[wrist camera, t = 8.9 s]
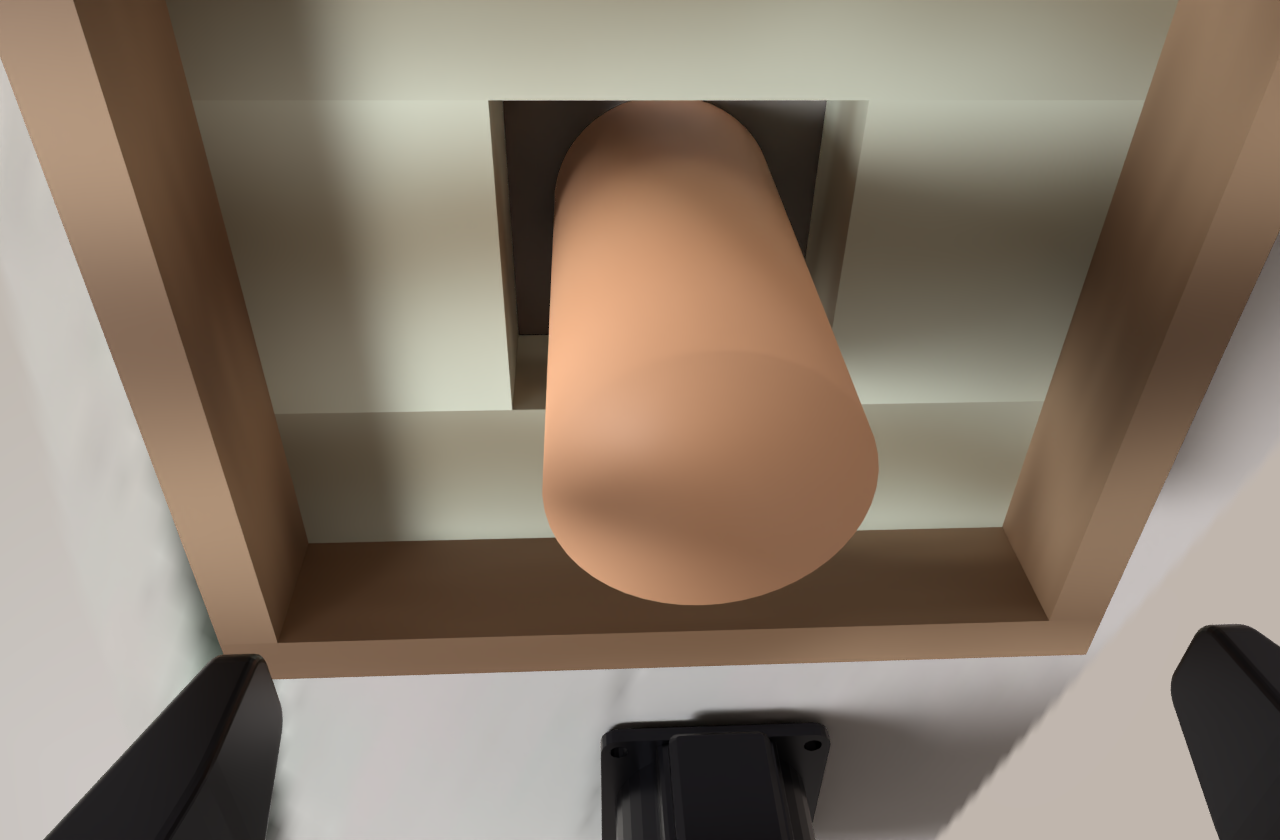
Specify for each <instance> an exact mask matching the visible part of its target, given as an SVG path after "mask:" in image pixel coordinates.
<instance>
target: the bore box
mask: <svg viewBox="0 0 1280 840" xmlns="http://www.w3.org/2000/svg"><path fill="white" fill-rule="evenodd" d="M0 57H1V60H2V63H3V65H4V68H5V71H6V73H7V76H8V79H9V81H10V84H11V87H12V89H13V92H14V95H15V97H16V100H17V103H18V106H19V108H20V111H21V114H22V116H23V119H24V122H25V124H26V127H27V130H28V132H29V135H30V138H31V140H32V143H33V146H34V148H35V151H36V154H37V156H38V159H39V162H40V164H41V167H42V170H43V172H44V175H45V178H46V180H47V183H48V186H49V188H50V191H51V194H52V196H53V199H54V202H55V204H56V207H57V210H58V213H59V215H60V218H61V221H62V223H63V226H64V229H65V231H66V234H67V237H68V239H69V242H70V245H71V247H72V250H73V253H74V255H75V258H76V261H77V263H78V266H79V269H80V271H81V274H82V277H83V279H84V282H85V285H86V287H87V290H88V293H89V295H90V298H91V301H92V303H93V306H94V309H95V311H96V314H97V317H98V320H99V322H100V325H101V328H102V330H103V333H104V336H105V338H106V341H107V344H108V346H109V349H110V352H111V354H112V357H113V360H114V362H115V365H116V368H117V370H118V373H119V376H120V378H121V381H122V384H123V386H124V389H125V392H126V394H127V397H128V400H129V402H130V405H131V408H132V410H133V413H134V416H135V419H136V421H137V424H138V427H139V429H140V432H141V435H142V437H143V440H144V443H145V445H146V448H147V451H148V453H149V456H150V459H151V461H152V464H153V467H154V469H155V472H156V475H157V477H158V480H159V483H160V485H161V488H162V491H163V493H164V496H165V499H166V501H167V504H168V507H169V509H170V512H171V515H172V517H173V520H174V523H175V526H176V528H177V531H178V534H179V536H180V539H181V542H182V544H183V547H184V550H185V552H186V555H187V558H188V560H189V563H190V566H191V568H192V571H193V574H194V576H195V579H196V582H197V584H198V587H199V590H200V592H201V595H202V598H203V600H204V603H205V606H206V608H207V611H208V614H209V616H210V619H211V622H212V624H213V627H214V630H215V633H216V635H217V638H218V641H219V643H220V646H221V649H222V651H223V654H259V655H261V656H262V657H263V658H264V659H265V661H266V663H267V666H268V669H269V672H270V675H271V678H272V679H299V678H331V677H364V676H397V675H430V674H462V673H495V672H528V671H560V670H593V669H626V668H658V667H691V666H724V665H757V664H789V663H822V662H855V661H887V660H920V659H953V658H985V657H1018V656H1051V655H1084V654H1086V653H1087V651H1088V649H1089V647H1090V644H1091V642H1092V640H1093V638H1094V636H1095V633H1096V631H1097V629H1098V627H1099V625H1100V622H1101V620H1102V618H1103V616H1104V614H1105V612H1106V609H1107V607H1108V605H1109V603H1110V601H1111V598H1112V596H1113V594H1114V592H1115V590H1116V587H1117V585H1118V583H1119V581H1120V579H1121V577H1122V574H1123V572H1124V570H1125V568H1126V566H1127V563H1128V561H1129V559H1130V557H1131V555H1132V552H1133V550H1134V548H1135V546H1136V544H1137V542H1138V539H1139V537H1140V535H1141V533H1142V531H1143V528H1144V526H1145V524H1146V522H1147V520H1148V517H1149V515H1150V513H1151V511H1152V509H1153V507H1154V504H1155V502H1156V500H1157V498H1158V496H1159V493H1160V491H1161V489H1162V487H1163V485H1164V482H1165V480H1166V478H1167V476H1168V474H1169V472H1170V469H1171V467H1172V465H1173V463H1174V461H1175V458H1176V456H1177V454H1178V452H1179V450H1180V447H1181V445H1182V443H1183V441H1184V439H1185V437H1186V434H1187V432H1188V430H1189V428H1190V426H1191V423H1192V421H1193V419H1194V417H1195V415H1196V412H1197V410H1198V408H1199V406H1200V404H1201V401H1202V399H1203V397H1204V395H1205V393H1206V391H1207V388H1208V386H1209V384H1210V382H1211V380H1212V377H1213V375H1214V373H1215V371H1216V369H1217V366H1218V364H1219V362H1220V360H1221V358H1222V356H1223V353H1224V351H1225V349H1226V347H1227V345H1228V342H1229V340H1230V338H1231V336H1232V334H1233V331H1234V329H1235V327H1236V325H1237V323H1238V321H1239V318H1240V316H1241V314H1242V312H1243V310H1244V307H1245V305H1246V303H1247V301H1248V299H1249V296H1250V294H1251V292H1252V290H1253V288H1254V286H1255V283H1256V281H1257V279H1258V277H1259V275H1260V272H1261V270H1262V268H1263V266H1264V264H1265V261H1266V259H1267V257H1268V255H1269V253H1270V251H1271V248H1272V246H1273V244H1274V242H1275V240H1276V237H1277V235H1278V233H1279V231H1280V0H0ZM503 100H827V103H826V110H825V117H824V125H823V132H822V140H821V147H820V154H819V162H818V169H817V177H816V184H815V191H814V199H813V206H812V214H811V221H810V228H809V236H808V243H807V251H806V258H805V262H806V265H807V267H808V270H809V272H810V275H811V277H812V280H813V282H814V285H815V287H816V290H817V293H818V295H819V298H820V300H821V303H822V305H823V308H824V310H825V313H826V315H827V318H828V321H829V323H830V326H831V328H832V331H833V333H834V336H835V338H836V341H837V344H838V346H839V349H840V351H841V354H842V356H843V359H844V361H845V364H846V366H847V369H848V372H849V374H850V377H851V379H852V382H853V384H854V387H855V389H856V392H857V394H858V397H859V400H860V402H861V405H862V407H863V410H864V412H865V415H866V417H867V420H868V422H869V425H870V428H871V430H872V433H873V435H874V438H875V442H876V447H877V451H878V464H879V473H878V480H877V488H876V491H875V494H874V498H873V501H872V504H871V506H870V508H869V510H868V512H867V514H866V516H865V519H864V520H863V522H862V523H861V525H860V526H859V528H858V529H857V531H856V532H855V534H854V535H853V536H852V537H851V538H850V540H849V541H848V542H847V543H846V544H845V545H844V547H843V548H842V549H841V550H839V551H838V552H837V553H836V554H835V555H834V556H833V557H832V558H831V559H830V560H828V561H827V562H826V563H824V564H823V565H821V566H820V567H819V568H817V569H816V570H815V571H813V572H811V573H810V574H808V575H806V576H805V577H803V578H801V579H799V580H798V581H796V582H794V583H791V584H789V585H787V586H785V587H783V588H781V589H778V590H775V591H772V592H770V593H767V594H764V595H761V596H757V597H753V598H750V599H746V600H742V601H736V602H730V603H723V604H712V605H678V604H669V603H661V602H656V601H651V600H646V599H642V598H639V597H636V596H633V595H630V594H626V593H624V592H622V591H619V590H617V589H615V588H612V587H610V586H608V585H606V584H605V583H603V582H601V581H599V580H598V579H596V578H594V577H593V576H591V575H590V574H589V573H587V572H586V571H585V570H583V569H582V568H581V567H580V566H578V565H577V564H576V563H575V562H574V561H573V560H572V559H571V558H570V557H569V556H568V555H567V553H566V552H565V551H564V549H563V548H562V547H561V545H560V544H559V543H558V541H557V539H556V537H555V536H554V534H553V532H552V530H551V528H550V526H549V523H548V520H547V517H546V514H545V510H544V503H543V497H542V485H543V459H544V436H545V413H546V389H547V366H548V343H549V335H519V332H518V317H517V302H516V288H515V273H514V259H513V244H512V229H511V215H510V200H509V186H508V171H507V156H506V142H505V127H504V113H503Z"/></svg>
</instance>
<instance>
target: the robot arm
mask: <svg viewBox="0 0 1280 840" xmlns="http://www.w3.org/2000/svg"><path fill="white" fill-rule="evenodd" d="M1171 696H1172V701H1173V704H1174V708H1175V710H1176V713H1177V716H1178V719H1179V722H1180V725H1181V728H1182V731H1183V734H1184V737H1185V740H1186V743H1187V746H1188V749H1189V752H1190V755H1191V758H1192V761H1193V764H1194V766H1195V770H1196V773H1197V776H1198V778H1199V782H1200V784H1201V788H1202V790H1203V793H1204V796H1205V799H1206V802H1207V805H1208V808H1209V811H1210V814H1211V817H1212V820H1213V823H1214V826H1215V829H1216V831H1217V834H1218V836H1219V839H1220V840H1280V646H1278V645H1277V644H1275V643H1274V642H1272V641H1271V640H1270V639H1268V638H1267V637H1265V636H1264V635H1263V634H1261V633H1260V632H1258V631H1257V630H1255V629H1253V628H1251V627H1249V626H1246V625H1241V624H1224V625H1208V626H1204V627H1203V628H1201V629H1200V630H1198V632H1197V633H1196V634H1195V636H1194V638H1193V640H1192V641H1191V643H1190V645H1189V647H1188V649H1187V651H1186V652H1185V654H1184V656H1183V658H1182V659H1181V662H1180V663H1179V665H1178V667H1177V668H1176V670H1175V672H1174V674H1173V676H1172V681H1171ZM282 722H283V719H282V708H281V704H280V701H279V698H278V695H277V692H276V689H275V686H274V683H273V681H272V678H271V675H270V672H269V669H268V666H267V663H266V661H265V659H264V658H263V657H262V656H261V655H259V654H224V655H219V656H217V657H215V658H213V659H212V660H211V661H210V662H208V663H207V664H206V666H205V667H204V668H203V669H202V670H201V671H200V672H199V673H198V674H197V675H196V676H195V677H194V678H193V679H192V681H191V682H190V683H189V684H188V685H187V686H186V687H185V688H184V689H183V690H182V691H181V692H180V693H179V695H178V696H177V697H176V698H175V699H174V700H173V701H172V702H171V703H170V704H169V705H168V706H167V707H166V708H165V710H164V711H163V712H162V713H161V714H160V715H159V716H158V717H157V718H156V719H155V720H154V721H153V722H152V724H151V725H150V726H149V727H148V728H147V729H146V730H145V731H144V732H143V733H142V734H141V735H140V736H139V737H138V739H137V740H136V741H135V742H134V743H133V744H132V745H131V746H130V747H129V748H128V749H127V750H126V751H125V753H124V754H123V755H122V756H121V757H120V758H119V759H118V760H117V761H116V762H115V763H114V764H113V765H112V766H111V768H110V769H109V770H108V771H107V772H106V773H105V774H104V775H103V776H102V777H101V778H100V780H98V782H97V783H96V784H95V785H94V786H93V787H92V788H91V789H90V790H89V791H88V792H87V793H86V794H85V796H84V797H83V798H82V799H81V800H80V801H79V802H78V803H77V804H76V805H75V806H74V807H73V808H72V810H71V811H70V812H69V813H68V814H67V815H66V816H65V817H64V818H63V819H62V820H61V821H60V823H59V824H58V825H57V826H56V827H55V828H54V829H53V830H52V831H51V832H50V833H49V834H48V835H47V836H46V837H45V839H44V840H265V838H266V831H267V825H268V818H269V812H270V805H271V799H272V792H273V786H274V779H275V773H276V766H277V760H278V753H279V747H280V740H281V734H282ZM829 748H830V739H829V735H828V731H827V728H826V727H825V726H824V725H821V724H819V723H793V724H763V725H734V726H704V727H675V728H645V729H618V730H612V731H609V732H607V733H605V734H604V735H603V736H602V739H601V797H602V840H815V835H814V830H813V826H812V822H813V818H814V813H815V809H816V805H817V800H818V796H819V792H820V787H821V783H822V779H823V774H824V770H825V766H826V761H827V757H828V753H829Z"/></svg>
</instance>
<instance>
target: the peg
mask: <svg viewBox="0 0 1280 840" xmlns="http://www.w3.org/2000/svg"><path fill="white" fill-rule="evenodd" d="M878 473H879V464H878V451H877V447H876V442H875V438H874V435H873V433H872V430H871V428H870V425H869V422H868V420H867V417H866V415H865V412H864V410H863V407H862V405H861V402H860V400H859V397H858V394H857V392H856V389H855V387H854V384H853V382H852V379H851V377H850V374H849V372H848V369H847V366H846V364H845V361H844V359H843V356H842V354H841V351H840V349H839V346H838V344H837V341H836V338H835V336H834V333H833V331H832V328H831V326H830V323H829V321H828V318H827V315H826V313H825V310H824V308H823V305H822V303H821V300H820V298H819V295H818V293H817V290H816V287H815V285H814V282H813V280H812V277H811V275H810V272H809V270H808V267H807V265H806V262H805V259H804V257H803V254H802V252H801V249H800V247H799V244H798V242H797V239H796V237H795V234H794V231H793V229H792V226H791V224H790V221H789V219H788V216H787V214H786V211H785V209H784V206H783V203H782V201H781V198H780V196H779V193H778V191H777V188H776V186H775V183H774V181H773V178H772V175H771V173H770V170H769V168H768V165H767V163H766V160H765V158H764V155H763V153H762V151H761V149H760V147H759V145H758V144H757V142H756V140H755V139H754V138H753V136H752V135H751V134H750V133H749V131H748V130H747V129H746V128H745V127H744V126H743V125H742V124H741V123H740V122H739V121H738V120H737V119H736V118H734V117H733V116H731V115H730V114H728V113H727V112H726V111H724V110H722V109H720V108H718V107H716V106H714V105H712V104H710V103H707V102H705V101H702V100H632V101H629V102H626V103H623V104H621V105H619V106H617V107H615V108H613V109H611V110H609V111H607V112H606V113H604V114H603V115H601V116H600V117H598V118H597V119H595V120H594V121H593V122H592V123H591V124H590V125H589V126H587V127H586V128H585V129H584V130H583V132H582V133H581V134H580V135H579V136H578V137H577V138H576V140H575V141H574V143H573V144H572V146H571V147H570V149H569V150H568V152H567V154H566V156H565V158H564V160H563V162H562V164H561V167H560V170H559V173H558V177H557V182H556V188H555V203H554V226H553V249H552V273H551V296H550V319H549V343H548V366H547V389H546V413H545V436H544V459H543V485H542V497H543V503H544V510H545V514H546V517H547V520H548V523H549V526H550V528H551V530H552V532H553V534H554V536H555V537H556V539H557V541H558V543H559V544H560V545H561V547H562V548H563V549H564V551H565V552H566V553H567V555H568V556H569V557H570V558H571V559H572V560H573V561H574V562H575V563H576V564H577V565H578V566H580V567H581V568H582V569H583V570H585V571H586V572H587V573H589V574H590V575H591V576H593V577H594V578H596V579H598V580H599V581H601V582H603V583H605V584H606V585H608V586H610V587H612V588H615V589H617V590H619V591H622V592H624V593H626V594H630V595H633V596H636V597H639V598H642V599H646V600H651V601H656V602H661V603H669V604H678V605H712V604H723V603H730V602H736V601H742V600H746V599H750V598H753V597H757V596H761V595H764V594H767V593H770V592H772V591H775V590H778V589H781V588H783V587H785V586H787V585H789V584H791V583H794V582H796V581H798V580H799V579H801V578H803V577H805V576H806V575H808V574H810V573H811V572H813V571H815V570H816V569H817V568H819V567H820V566H821V565H823V564H824V563H826V562H827V561H828V560H830V559H831V558H832V557H833V556H834V555H835V554H836V553H837V552H838V551H839V550H841V549H842V548H843V547H844V545H845V544H846V543H847V542H848V541H849V540H850V538H851V537H852V536H853V535H854V534H855V532H856V531H857V529H858V528H859V526H860V525H861V523H862V522H863V520H864V519H865V516H866V514H867V512H868V510H869V508H870V506H871V504H872V501H873V498H874V494H875V491H876V488H877V480H878Z"/></svg>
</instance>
